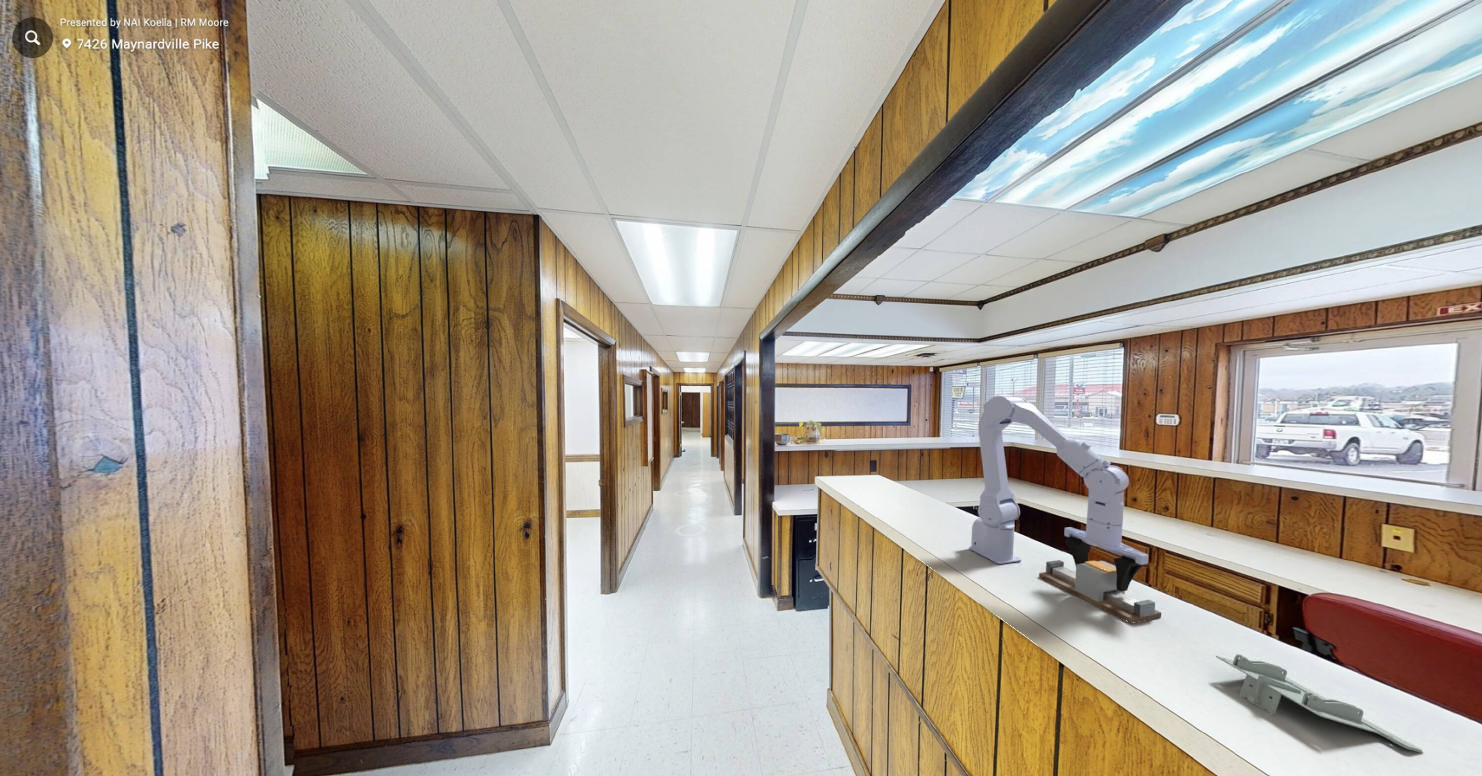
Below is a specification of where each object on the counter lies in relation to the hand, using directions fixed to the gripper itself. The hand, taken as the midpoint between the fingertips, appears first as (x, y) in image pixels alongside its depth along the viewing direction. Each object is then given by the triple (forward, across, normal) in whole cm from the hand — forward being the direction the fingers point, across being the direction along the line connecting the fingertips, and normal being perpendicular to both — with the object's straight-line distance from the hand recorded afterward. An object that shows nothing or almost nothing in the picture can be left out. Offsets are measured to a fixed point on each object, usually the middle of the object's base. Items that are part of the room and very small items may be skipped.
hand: (1100, 580), depth 84 cm
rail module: (+3, 0, 0) cm, 3 cm away
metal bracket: (+5, +27, -4) cm, 28 cm away
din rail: (+4, -1, 0) cm, 4 cm away
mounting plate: (+4, -1, 0) cm, 4 cm away
